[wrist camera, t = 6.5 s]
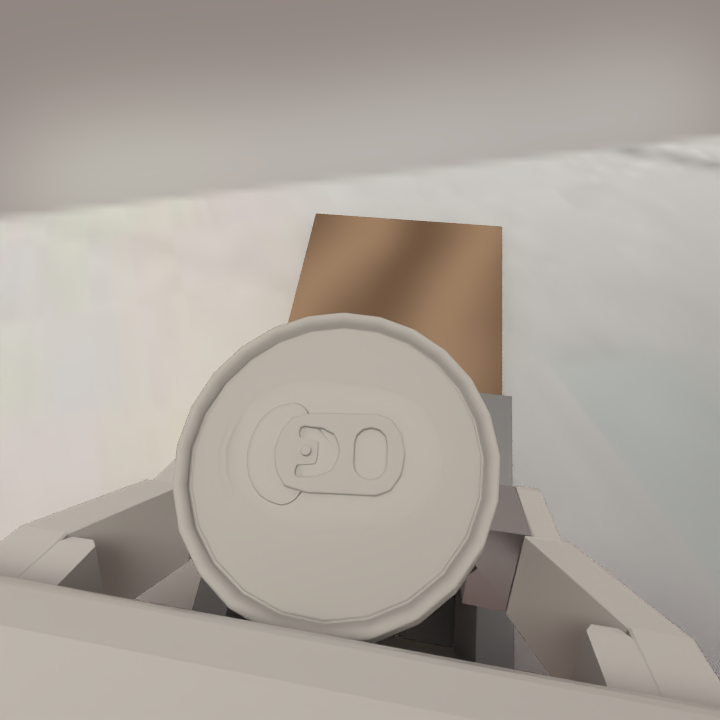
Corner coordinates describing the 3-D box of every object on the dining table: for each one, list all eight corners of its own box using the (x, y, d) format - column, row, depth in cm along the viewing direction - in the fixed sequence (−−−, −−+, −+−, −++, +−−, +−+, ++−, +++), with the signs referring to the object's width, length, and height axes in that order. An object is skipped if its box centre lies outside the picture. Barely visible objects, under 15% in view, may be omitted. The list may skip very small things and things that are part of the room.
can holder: (486, 430, 18) (511, 396, 14) (482, 688, 14) (515, 729, 11) (282, 405, 19) (258, 367, 15) (226, 639, 15) (177, 662, 12)
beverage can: (313, 462, 18) (202, 302, 7) (428, 466, 18) (495, 305, 7) (300, 592, 16) (116, 647, 5) (431, 599, 15) (535, 673, 5)
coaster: (499, 234, 23) (502, 226, 22) (498, 409, 18) (501, 404, 18) (317, 221, 24) (316, 213, 23) (276, 383, 20) (273, 378, 19)
